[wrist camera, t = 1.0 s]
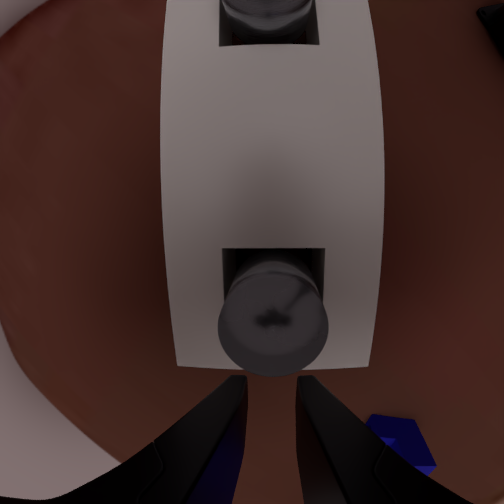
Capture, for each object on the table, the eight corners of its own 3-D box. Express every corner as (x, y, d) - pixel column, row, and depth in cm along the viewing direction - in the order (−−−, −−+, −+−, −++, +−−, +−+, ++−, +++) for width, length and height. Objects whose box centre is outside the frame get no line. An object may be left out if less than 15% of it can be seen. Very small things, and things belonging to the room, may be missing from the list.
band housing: (342, 0, 15) (358, -40, 10) (349, 326, 20) (368, 366, 15) (192, 3, 16) (171, -36, 11) (197, 326, 21) (177, 365, 16)
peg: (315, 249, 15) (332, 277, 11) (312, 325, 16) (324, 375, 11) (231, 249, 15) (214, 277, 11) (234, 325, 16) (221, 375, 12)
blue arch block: (371, 412, 22) (390, 465, 16) (413, 418, 22) (436, 466, 16) (310, 491, 24) (313, 537, 19) (349, 495, 24) (356, 538, 19)
